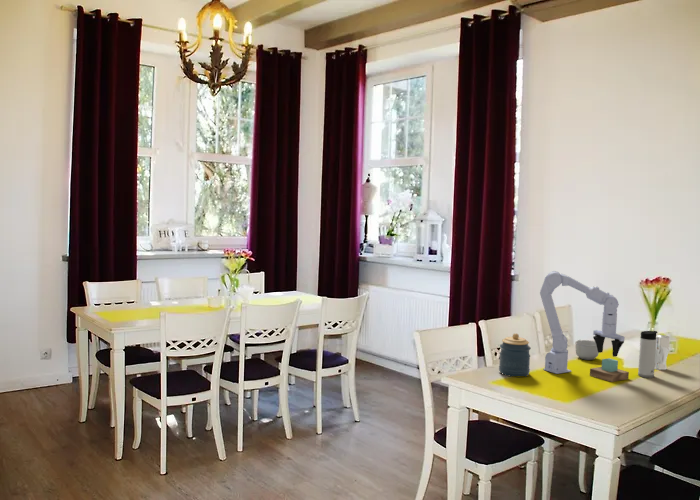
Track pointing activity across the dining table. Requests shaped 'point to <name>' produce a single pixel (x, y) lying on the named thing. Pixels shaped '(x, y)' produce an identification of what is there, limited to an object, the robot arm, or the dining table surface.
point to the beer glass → (661, 352)
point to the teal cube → (609, 365)
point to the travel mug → (647, 354)
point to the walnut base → (609, 374)
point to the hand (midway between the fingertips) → (607, 354)
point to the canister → (514, 356)
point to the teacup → (586, 349)
